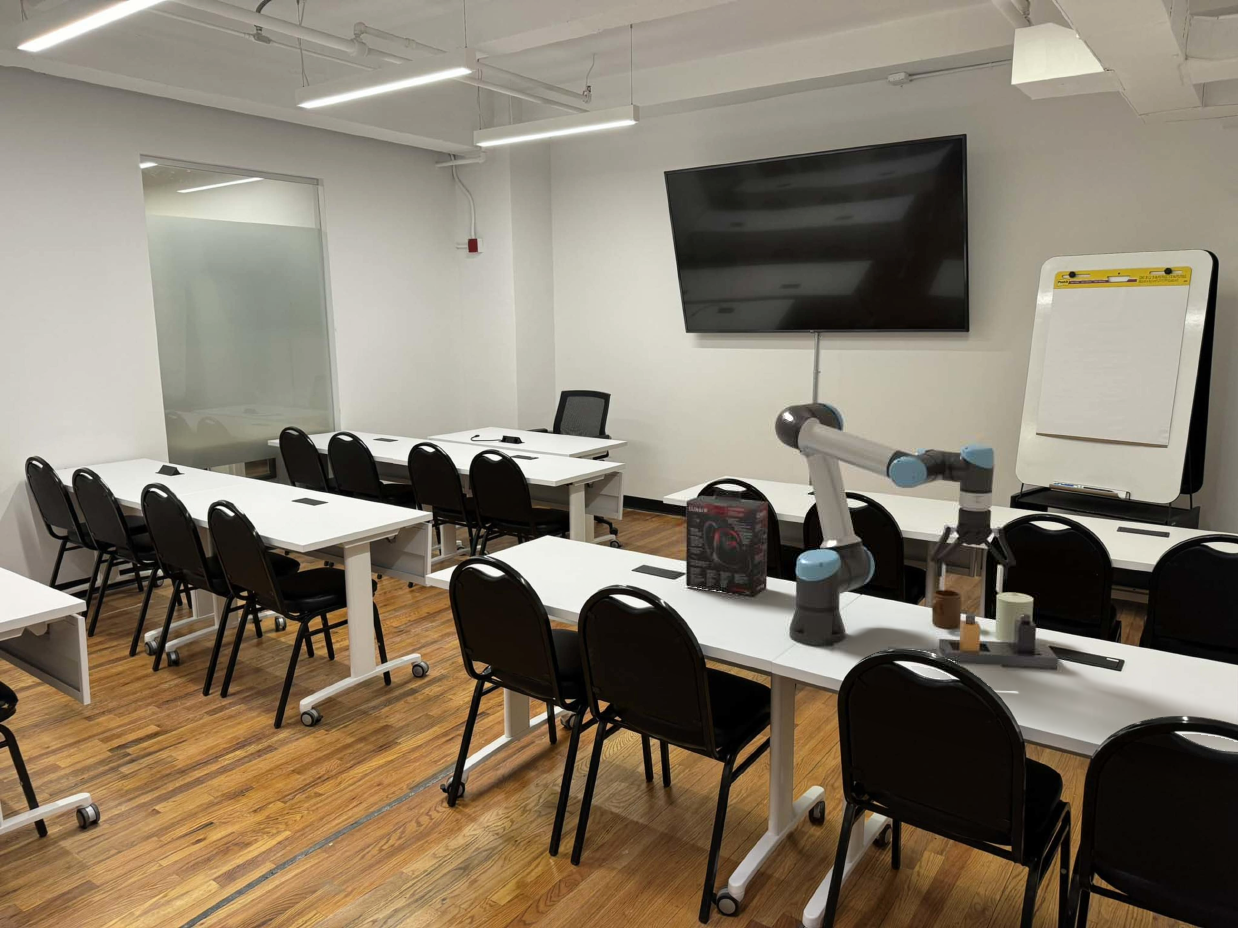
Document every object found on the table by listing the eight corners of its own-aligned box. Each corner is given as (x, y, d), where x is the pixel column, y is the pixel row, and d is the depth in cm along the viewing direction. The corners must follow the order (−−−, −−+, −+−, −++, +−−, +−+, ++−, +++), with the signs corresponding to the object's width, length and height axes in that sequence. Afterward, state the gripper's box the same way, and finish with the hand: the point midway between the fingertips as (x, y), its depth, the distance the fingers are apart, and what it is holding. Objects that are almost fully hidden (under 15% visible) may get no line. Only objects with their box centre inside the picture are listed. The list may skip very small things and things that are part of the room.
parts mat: (891, 662, 218) (892, 660, 218) (887, 648, 227) (887, 646, 227) (941, 665, 215) (942, 663, 215) (935, 650, 225) (935, 649, 225)
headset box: (768, 588, 284) (769, 489, 279) (754, 598, 273) (755, 496, 269) (701, 579, 296) (700, 484, 292) (685, 588, 286) (684, 490, 281)
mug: (946, 635, 237) (947, 602, 235) (919, 629, 242) (920, 596, 241) (965, 624, 245) (966, 592, 244) (939, 618, 250) (940, 587, 249)
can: (1029, 634, 236) (1031, 591, 234) (1033, 645, 227) (1036, 601, 226) (993, 631, 239) (995, 589, 237) (995, 642, 230) (997, 599, 229)
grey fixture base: (945, 663, 216) (947, 617, 214) (938, 649, 226) (940, 605, 224) (1057, 669, 211) (1059, 622, 209) (1045, 654, 221) (1047, 609, 219)
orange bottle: (962, 659, 218) (963, 617, 216) (959, 653, 222) (960, 612, 220) (978, 660, 217) (980, 618, 216) (975, 654, 221) (977, 613, 219)
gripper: (924, 509, 213) (920, 592, 216) (1032, 512, 208) (1027, 597, 211) (920, 503, 220) (916, 583, 223) (1024, 506, 215) (1019, 588, 219)
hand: (970, 590), depth 217 cm, fingers open, 13 cm apart
